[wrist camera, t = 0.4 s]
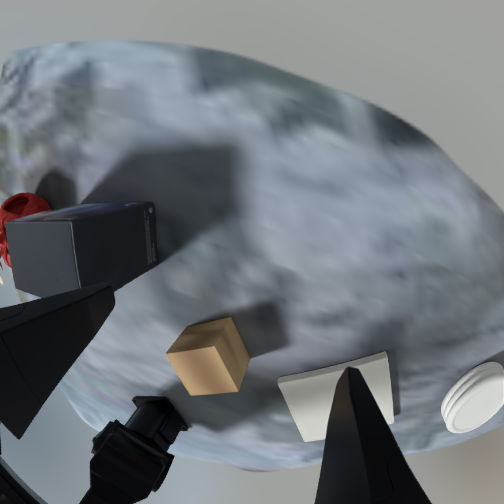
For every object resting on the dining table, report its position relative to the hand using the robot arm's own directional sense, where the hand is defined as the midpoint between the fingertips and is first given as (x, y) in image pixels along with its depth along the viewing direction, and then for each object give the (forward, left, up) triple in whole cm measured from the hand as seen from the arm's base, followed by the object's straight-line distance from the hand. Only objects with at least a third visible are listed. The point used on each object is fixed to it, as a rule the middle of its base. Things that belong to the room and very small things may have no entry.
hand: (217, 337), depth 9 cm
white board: (+1, -19, -14) cm, 24 cm away
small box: (-15, +6, -14) cm, 21 cm away
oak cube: (-9, -8, -14) cm, 19 cm away
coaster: (+18, -26, -15) cm, 35 cm away
